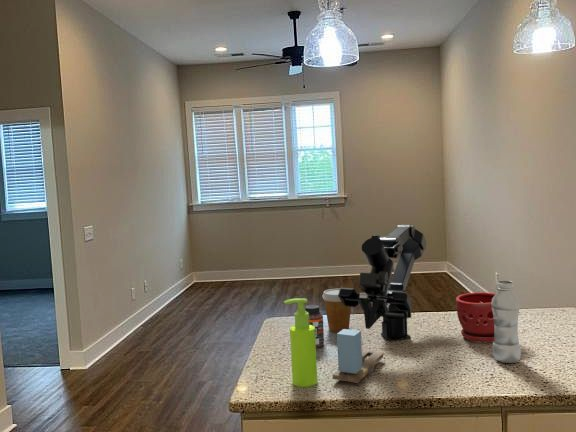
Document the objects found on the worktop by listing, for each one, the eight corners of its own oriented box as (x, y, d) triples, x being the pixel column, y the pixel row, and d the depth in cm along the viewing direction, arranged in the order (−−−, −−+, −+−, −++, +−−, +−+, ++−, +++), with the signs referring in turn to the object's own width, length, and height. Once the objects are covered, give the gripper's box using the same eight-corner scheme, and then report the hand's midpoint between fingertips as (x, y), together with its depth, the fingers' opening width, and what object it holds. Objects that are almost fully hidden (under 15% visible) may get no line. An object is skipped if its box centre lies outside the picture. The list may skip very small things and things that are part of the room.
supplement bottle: (322, 348, 146) (321, 309, 145) (301, 348, 147) (299, 309, 146) (325, 342, 151) (323, 303, 151) (305, 341, 153) (303, 303, 152)
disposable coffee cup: (336, 323, 170) (335, 286, 169) (360, 328, 163) (358, 290, 162) (317, 330, 163) (315, 292, 162) (341, 335, 156) (339, 296, 155)
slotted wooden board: (360, 357, 137) (360, 349, 137) (383, 361, 134) (383, 352, 134) (332, 383, 121) (332, 374, 121) (358, 387, 118) (357, 378, 118)
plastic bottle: (509, 368, 125) (507, 286, 123) (486, 360, 131) (484, 281, 129) (527, 362, 128) (525, 282, 126) (504, 354, 134) (502, 278, 132)
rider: (345, 370, 126) (343, 328, 125) (362, 372, 123) (360, 330, 123) (338, 376, 122) (336, 333, 121) (356, 378, 120) (354, 335, 119)
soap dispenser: (287, 378, 126) (283, 297, 124) (315, 376, 126) (311, 295, 125) (289, 388, 120) (284, 303, 118) (319, 385, 120) (315, 300, 119)
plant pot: (480, 328, 157) (479, 289, 156) (516, 340, 145) (516, 297, 144) (447, 336, 151) (446, 295, 150) (481, 349, 139) (480, 305, 138)
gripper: (339, 258, 140) (323, 309, 132) (407, 260, 131) (395, 315, 123) (351, 280, 148) (337, 330, 139) (416, 284, 139) (406, 337, 130)
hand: (367, 328), depth 133 cm, fingers closed
